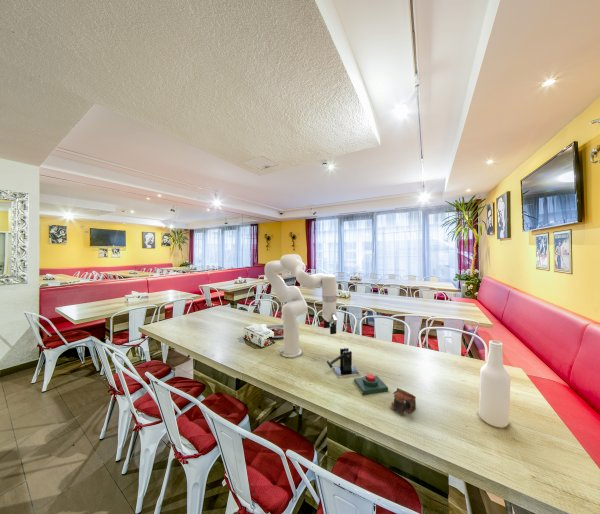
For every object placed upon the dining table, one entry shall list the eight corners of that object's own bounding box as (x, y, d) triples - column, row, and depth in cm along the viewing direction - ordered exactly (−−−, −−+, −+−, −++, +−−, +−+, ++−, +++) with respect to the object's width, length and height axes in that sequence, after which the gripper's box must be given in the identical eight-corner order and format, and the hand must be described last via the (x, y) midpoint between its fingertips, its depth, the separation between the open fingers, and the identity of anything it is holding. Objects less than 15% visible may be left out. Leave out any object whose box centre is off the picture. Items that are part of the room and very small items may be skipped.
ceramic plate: (285, 342, 164) (285, 337, 164) (253, 337, 173) (253, 333, 173) (299, 329, 189) (299, 325, 188) (269, 326, 197) (269, 322, 197)
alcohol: (472, 413, 94) (475, 338, 92) (490, 410, 96) (493, 336, 94) (495, 430, 85) (498, 348, 84) (514, 426, 87) (518, 345, 86)
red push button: (368, 382, 110) (368, 378, 109) (365, 378, 113) (365, 374, 113) (376, 381, 110) (376, 377, 110) (372, 377, 114) (372, 373, 114)
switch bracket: (339, 378, 120) (338, 355, 119) (332, 369, 129) (332, 347, 128) (359, 375, 122) (359, 352, 121) (352, 366, 131) (352, 345, 130)
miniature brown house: (385, 404, 100) (390, 384, 103) (404, 413, 101) (409, 392, 104) (402, 417, 89) (408, 393, 91) (424, 426, 90) (429, 403, 92)
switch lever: (331, 369, 121) (328, 365, 120) (327, 364, 126) (325, 360, 125) (351, 356, 123) (348, 352, 122) (347, 351, 128) (345, 348, 127)
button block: (363, 395, 106) (363, 386, 106) (353, 382, 116) (353, 374, 115) (388, 392, 108) (388, 383, 108) (376, 379, 118) (376, 371, 118)
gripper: (317, 295, 134) (318, 326, 134) (328, 302, 117) (328, 337, 117) (330, 295, 135) (331, 324, 136) (342, 301, 118) (343, 335, 119)
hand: (329, 330), depth 127 cm, fingers open, 9 cm apart
